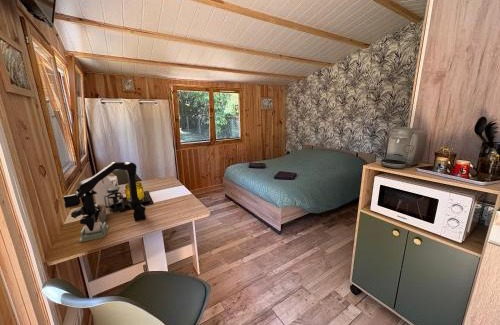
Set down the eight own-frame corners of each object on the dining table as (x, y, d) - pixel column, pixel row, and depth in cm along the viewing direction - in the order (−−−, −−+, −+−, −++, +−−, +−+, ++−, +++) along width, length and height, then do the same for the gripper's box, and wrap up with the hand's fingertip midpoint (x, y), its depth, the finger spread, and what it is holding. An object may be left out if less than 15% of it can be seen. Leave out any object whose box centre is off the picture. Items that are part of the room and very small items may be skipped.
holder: (108, 226, 134) (107, 219, 133) (104, 236, 123) (103, 229, 122) (85, 230, 130) (84, 224, 129) (79, 242, 118) (77, 235, 117)
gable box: (117, 204, 168) (111, 170, 161) (97, 207, 162) (90, 172, 156) (119, 194, 187) (114, 164, 181) (102, 197, 181) (95, 166, 175)
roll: (103, 228, 130) (101, 219, 129) (100, 233, 125) (99, 224, 123) (88, 231, 127) (86, 222, 126) (85, 236, 122) (83, 226, 120)
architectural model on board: (101, 216, 148) (99, 203, 146) (106, 215, 150) (104, 202, 148) (99, 223, 139) (96, 210, 136) (104, 222, 140) (102, 209, 138)
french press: (125, 205, 165) (121, 177, 159) (124, 210, 156) (119, 180, 151) (107, 208, 159) (102, 179, 154) (106, 213, 151) (100, 183, 146)
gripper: (76, 199, 127) (81, 222, 130) (64, 212, 110) (71, 238, 114) (98, 196, 131) (103, 218, 135) (90, 208, 114) (96, 233, 118)
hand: (93, 227), depth 125 cm, fingers open, 9 cm apart
